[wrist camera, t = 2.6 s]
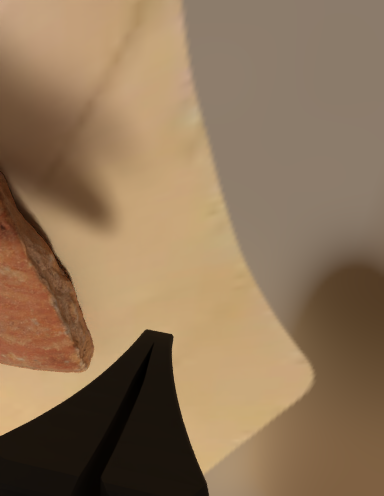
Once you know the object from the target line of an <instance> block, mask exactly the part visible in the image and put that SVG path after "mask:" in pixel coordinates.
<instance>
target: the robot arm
mask: <svg viewBox="0 0 384 496" xmlns="http://www.w3.org/2000/svg"><path fill="white" fill-rule="evenodd" d="M172 344H173V335H172V334H168V333H163V332H157V331H152V330H145V331H144V332H143V333H142V334H141V336H140V337H139V338H138V339H137V340H136V341H135V342H134V344H133V345H132V346H131V347H130V348H129V349H128V350H127V351H126V352H125V353H124V354H123V355H122V356H121V357H120V358H119V359H118V360H117V361H116V362H115V363H113V364H112V365H111V366H110V367H109V368H108V369H107V370H106V371H104V372H103V373H102V374H101V375H100V376H98V377H97V378H96V379H95V380H93V381H92V382H91V383H90V384H88V385H87V386H86V387H84V388H83V389H81V390H80V391H79V392H77V393H76V394H74V395H73V396H71V397H70V398H68V399H67V400H65V401H64V402H62V403H61V404H59V405H57V406H56V407H54V408H52V409H51V410H49V411H47V412H45V413H44V414H42V415H40V416H39V417H37V418H35V419H33V420H31V421H30V422H28V423H26V424H24V425H22V426H20V427H18V428H16V429H14V430H12V431H10V432H8V433H6V434H4V435H2V436H0V496H209V493H208V488H207V483H206V480H205V478H204V476H203V474H202V471H201V469H200V467H199V464H198V462H197V459H196V457H195V454H194V451H193V449H192V446H191V444H190V441H189V437H188V434H187V431H186V428H185V425H184V422H183V419H182V415H181V411H180V407H179V403H178V399H177V394H176V389H175V383H174V376H173V367H172Z"/></svg>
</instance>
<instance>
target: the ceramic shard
mask: <svg viewBox="0 0 384 496" xmlns="http://www.w3.org/2000/svg"><path fill="white" fill-rule="evenodd" d="M93 352H94V346H93V340H92V338H91V334H90V332H89V330H88V328H87V326H86V323H85V320H84V319H83V314H82V311H81V310H80V308H79V303H78V301H77V298H76V294H75V291H74V288H73V286H72V284H71V282H70V280H69V279H68V278H67V277H66V276H65V275H64V272H63V271H62V269H61V268H60V267H59V266H58V265H57V262H56V259H55V257H54V255H53V252H52V251H51V249H50V248H49V246H48V244H47V243H46V242H45V241H44V239H43V238H42V237H41V236H40V235H39V234H38V233H37V232H36V231H35V230H34V228H33V227H32V226H31V225H30V224H29V223H28V222H27V221H26V220H24V218H23V216H22V214H21V213H20V212H19V211H18V210H17V208H16V205H15V201H14V199H13V197H12V195H11V192H10V190H9V187H8V185H7V182H6V180H5V178H4V175H3V174H2V173H1V172H0V363H2V364H6V365H11V366H16V367H21V368H29V369H33V370H43V371H55V372H84V371H86V370H87V369H88V367H89V365H90V362H91V358H92V357H93Z"/></svg>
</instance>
